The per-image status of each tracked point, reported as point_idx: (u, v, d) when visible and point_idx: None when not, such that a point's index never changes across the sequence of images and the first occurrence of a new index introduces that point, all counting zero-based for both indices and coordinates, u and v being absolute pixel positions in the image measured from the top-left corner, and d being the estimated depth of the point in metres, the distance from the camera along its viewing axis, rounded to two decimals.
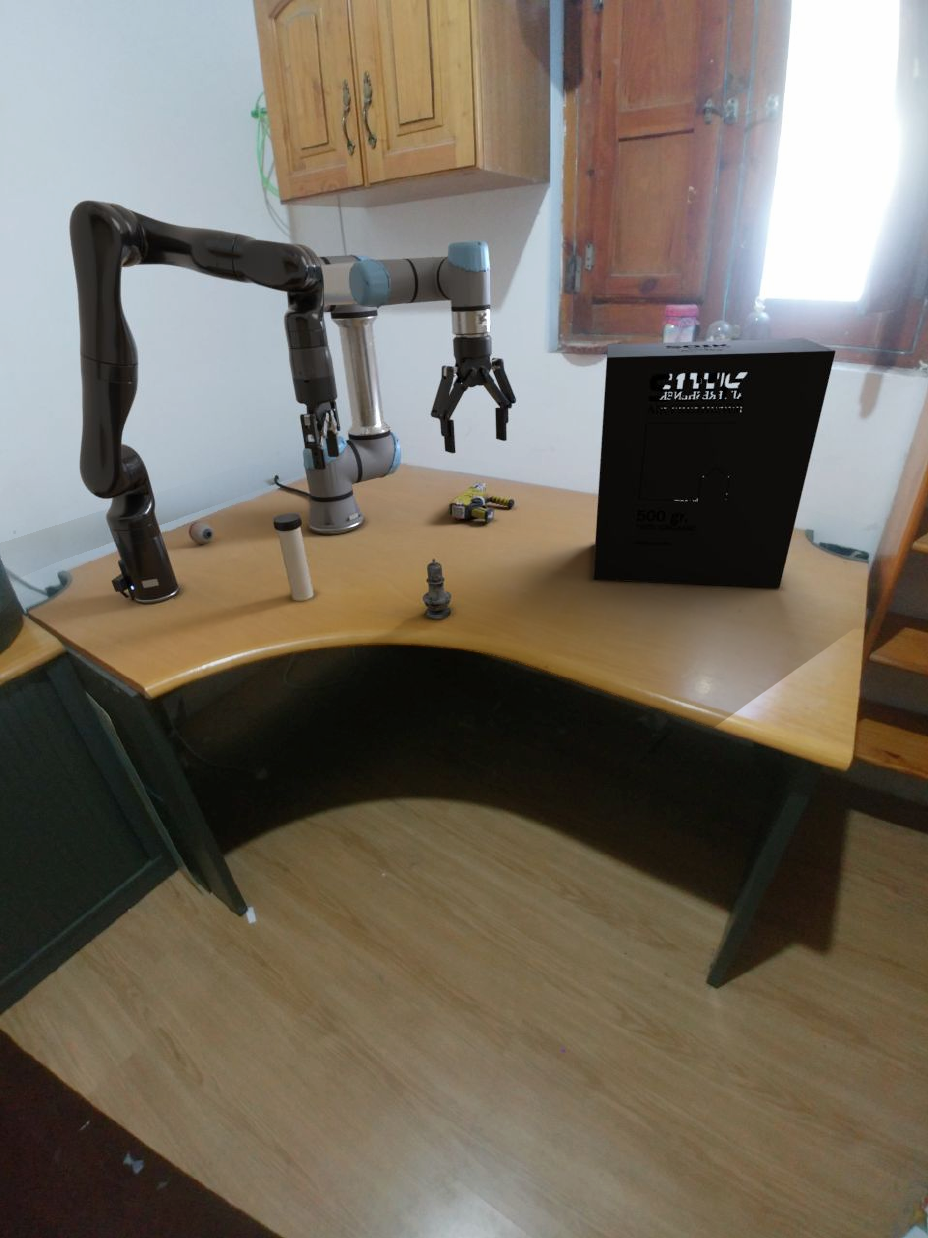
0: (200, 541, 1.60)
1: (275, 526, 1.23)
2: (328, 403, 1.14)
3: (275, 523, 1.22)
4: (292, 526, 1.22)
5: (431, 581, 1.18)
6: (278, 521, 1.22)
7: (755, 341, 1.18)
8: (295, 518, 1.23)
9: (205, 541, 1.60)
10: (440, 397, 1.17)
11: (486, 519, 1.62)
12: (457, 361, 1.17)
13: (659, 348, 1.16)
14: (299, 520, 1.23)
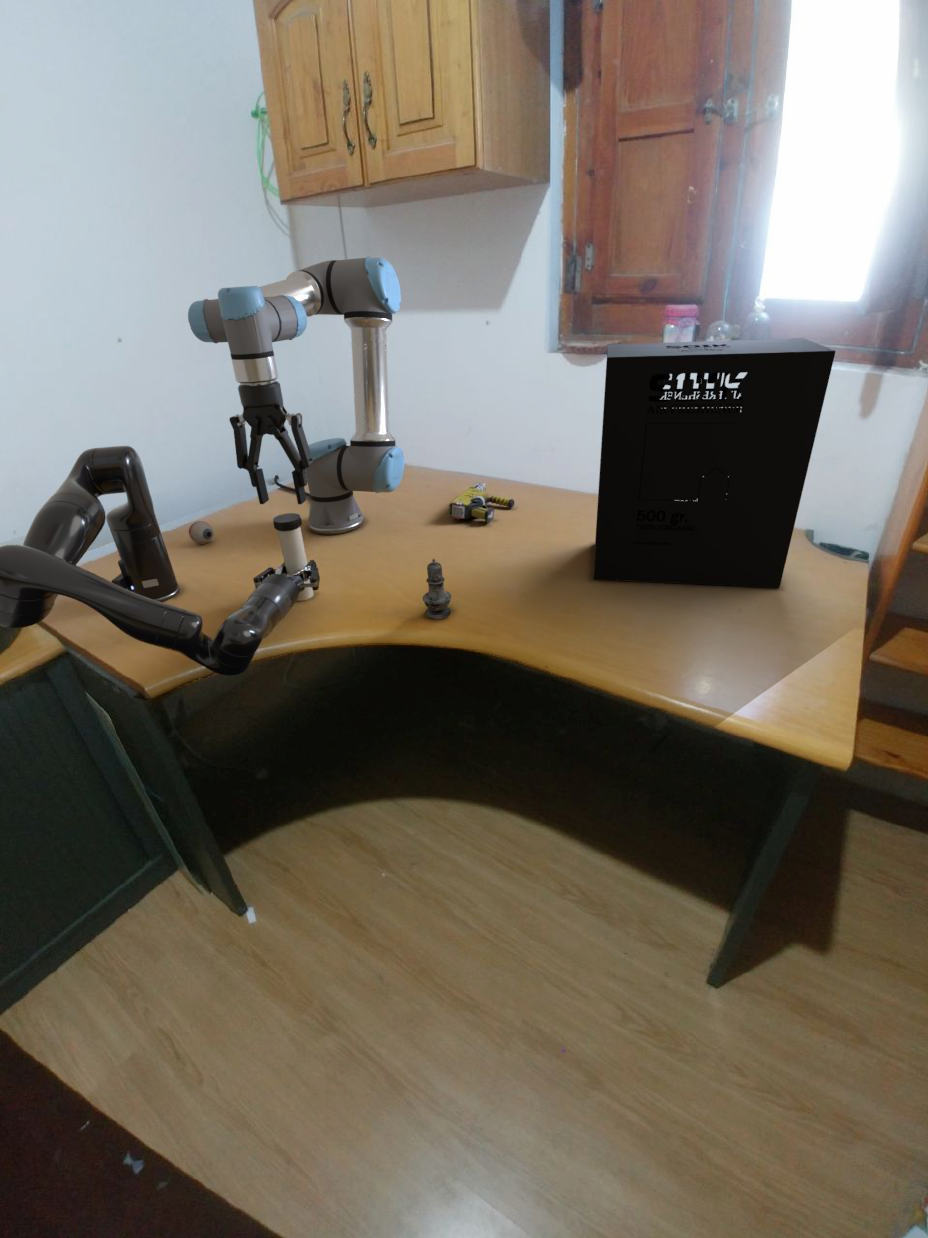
0: (200, 541, 1.60)
1: (275, 526, 1.23)
2: None
3: (275, 523, 1.22)
4: (292, 526, 1.22)
5: (431, 581, 1.18)
6: (278, 521, 1.22)
7: (755, 341, 1.18)
8: (295, 518, 1.23)
9: (205, 541, 1.60)
10: (306, 446, 1.16)
11: (486, 519, 1.62)
12: (282, 406, 1.12)
13: (659, 348, 1.16)
14: (299, 520, 1.23)
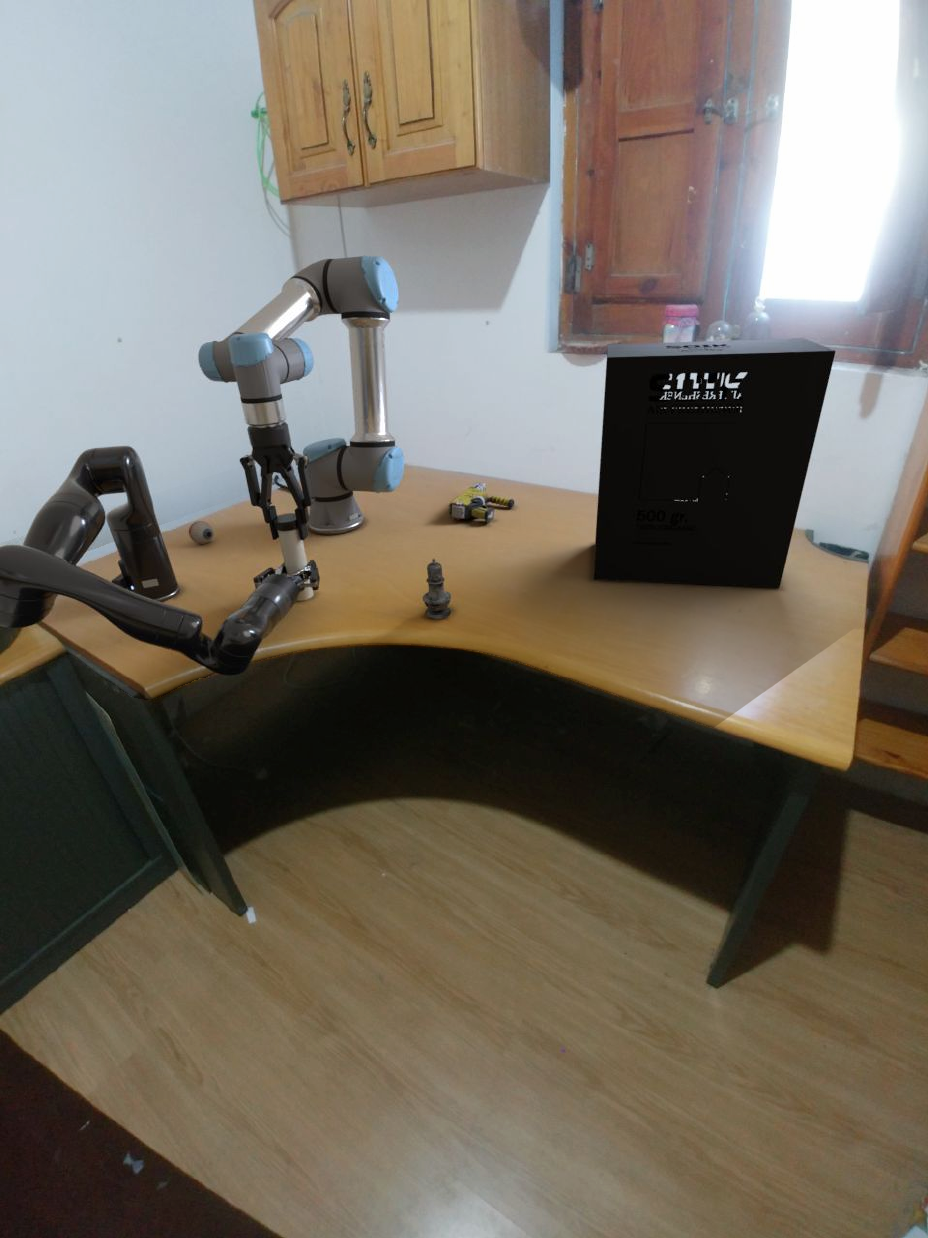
0: (200, 541, 1.60)
1: (275, 526, 1.23)
2: None
3: (275, 523, 1.22)
4: (292, 526, 1.22)
5: (431, 581, 1.18)
6: (278, 521, 1.22)
7: (755, 341, 1.18)
8: (295, 518, 1.23)
9: (205, 541, 1.60)
10: (310, 485, 1.20)
11: (486, 519, 1.62)
12: (290, 446, 1.16)
13: (659, 348, 1.16)
14: None
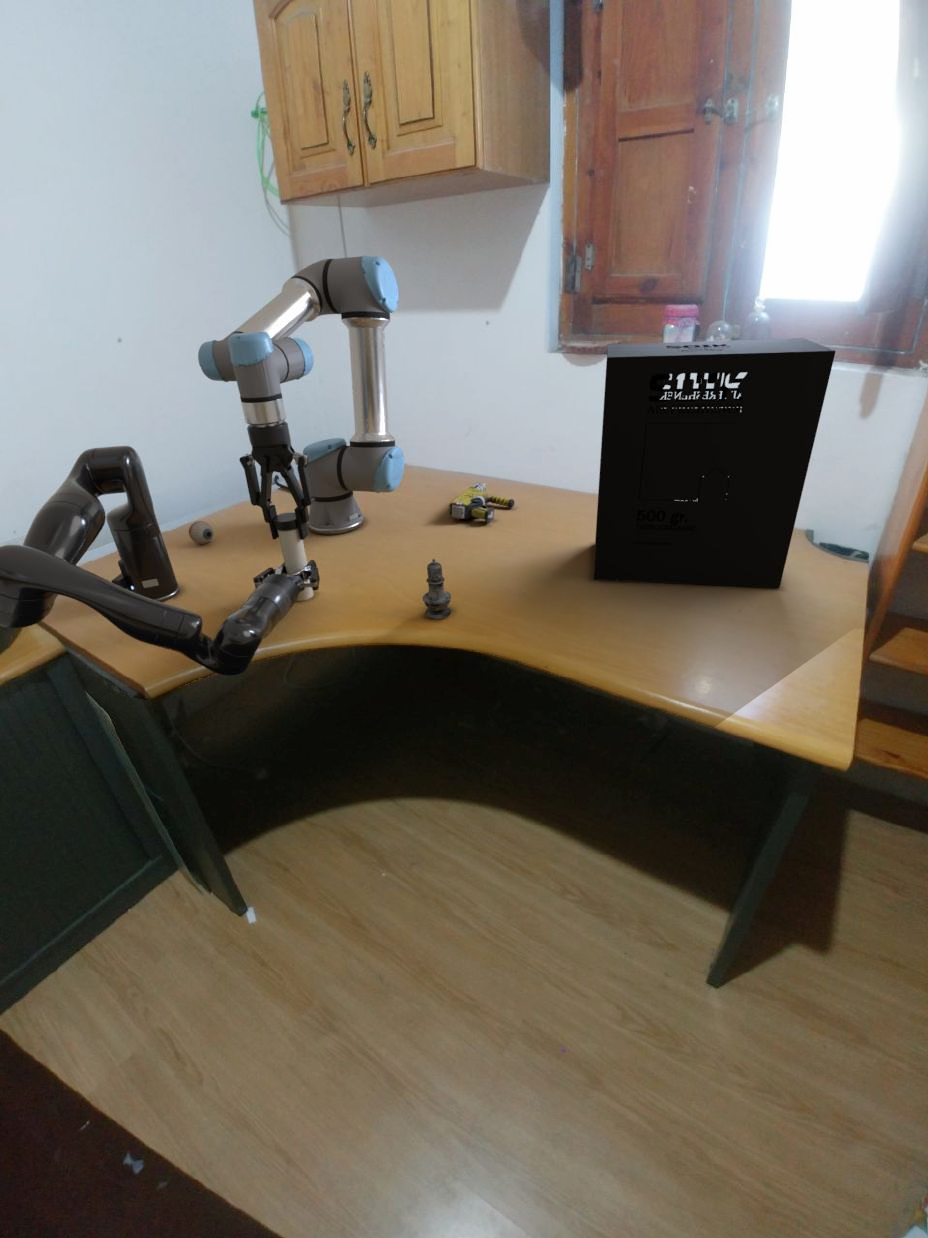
0: (200, 541, 1.60)
1: (287, 526, 1.22)
2: None
3: (288, 523, 1.22)
4: None
5: (431, 581, 1.18)
6: (290, 520, 1.22)
7: (755, 341, 1.18)
8: None
9: (205, 541, 1.60)
10: (310, 484, 1.20)
11: (486, 519, 1.62)
12: (289, 445, 1.16)
13: (659, 348, 1.16)
14: None
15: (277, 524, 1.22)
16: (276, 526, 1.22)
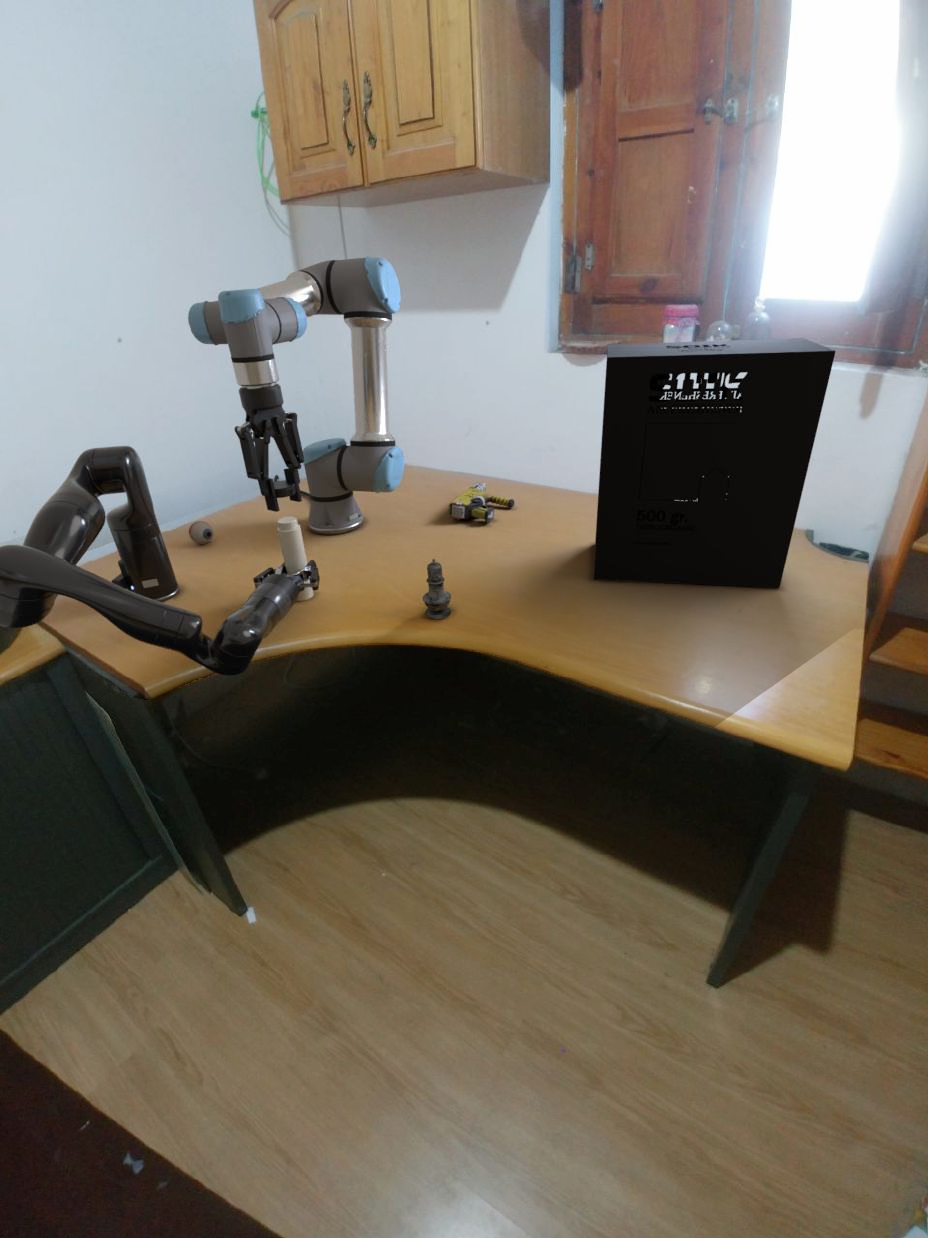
0: (200, 541, 1.60)
1: (294, 490, 1.21)
2: None
3: (294, 485, 1.20)
4: None
5: (431, 581, 1.18)
6: (292, 483, 1.21)
7: (755, 341, 1.18)
8: (279, 481, 1.22)
9: (205, 541, 1.60)
10: None
11: (486, 519, 1.62)
12: None
13: (659, 348, 1.16)
14: None
15: (286, 490, 1.19)
16: (284, 493, 1.19)
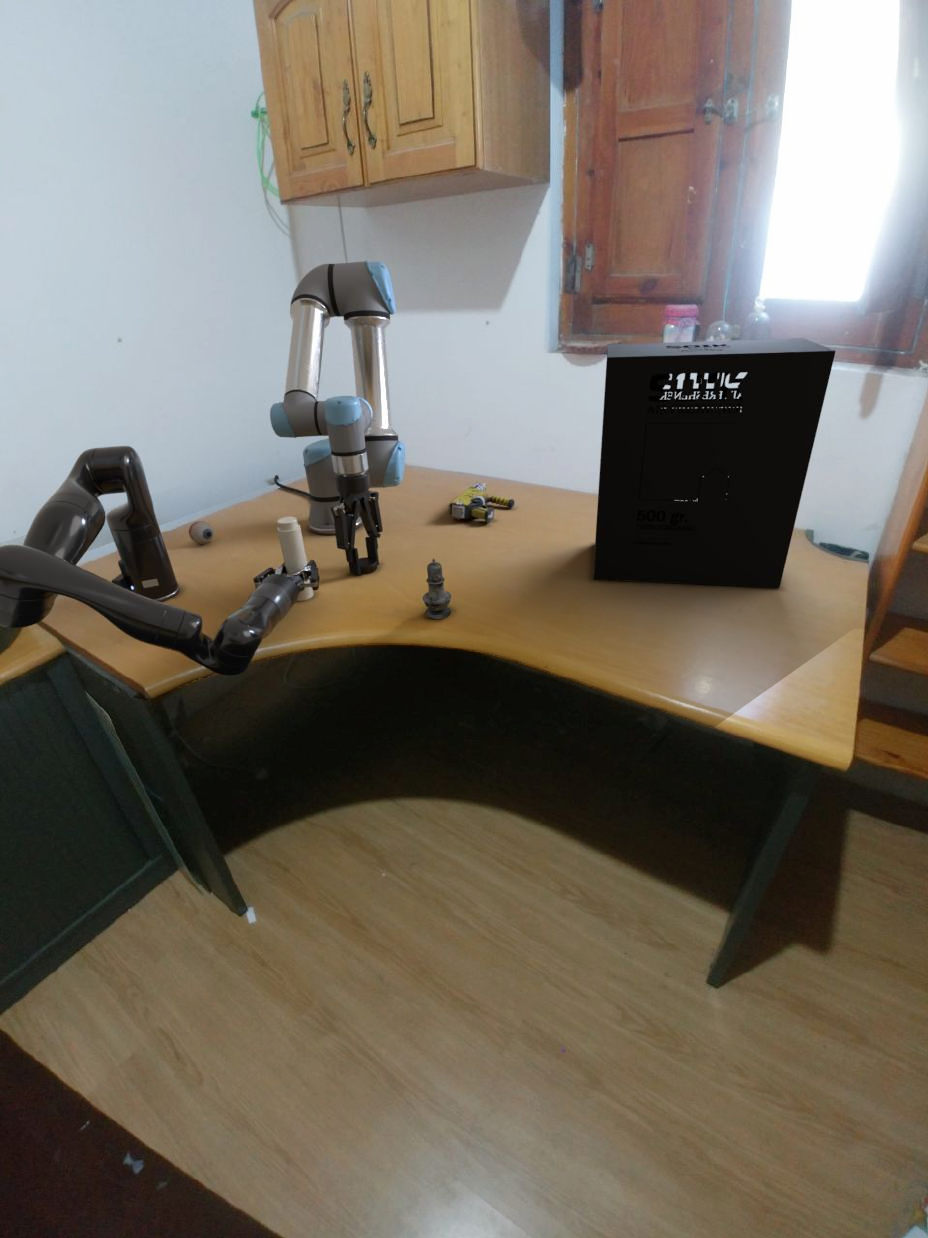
0: (200, 541, 1.60)
1: (376, 566, 1.42)
2: None
3: (376, 563, 1.42)
4: None
5: (431, 581, 1.18)
6: (374, 560, 1.43)
7: (755, 341, 1.18)
8: (362, 558, 1.44)
9: (205, 541, 1.60)
10: None
11: (486, 519, 1.62)
12: None
13: (659, 348, 1.16)
14: None
15: (370, 568, 1.41)
16: (368, 570, 1.41)
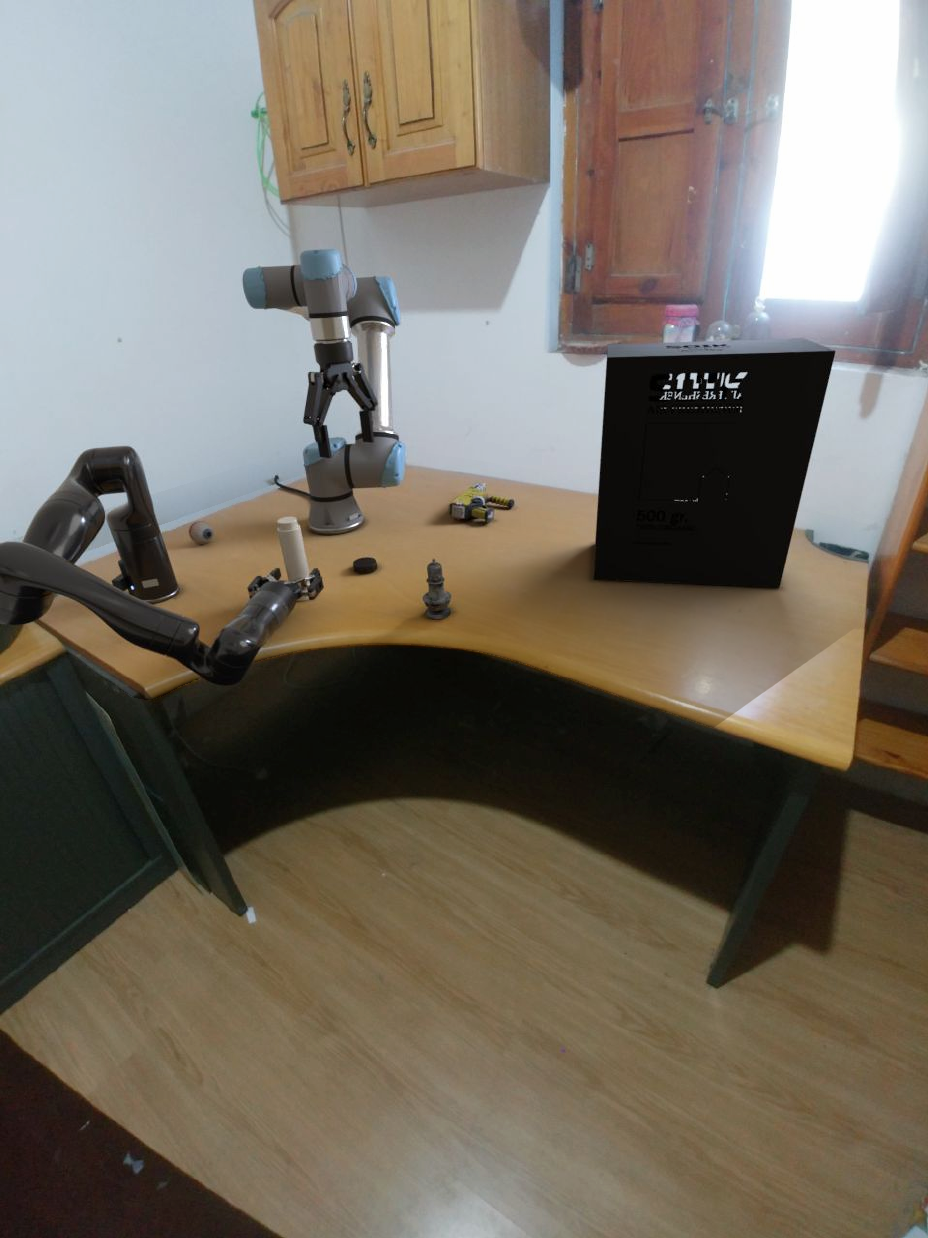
0: (200, 541, 1.60)
1: (376, 566, 1.42)
2: None
3: (376, 563, 1.42)
4: None
5: (431, 581, 1.18)
6: (374, 560, 1.43)
7: (755, 341, 1.18)
8: (362, 558, 1.44)
9: (205, 541, 1.60)
10: None
11: (486, 519, 1.62)
12: None
13: (659, 348, 1.16)
14: None
15: (370, 568, 1.41)
16: (368, 570, 1.41)
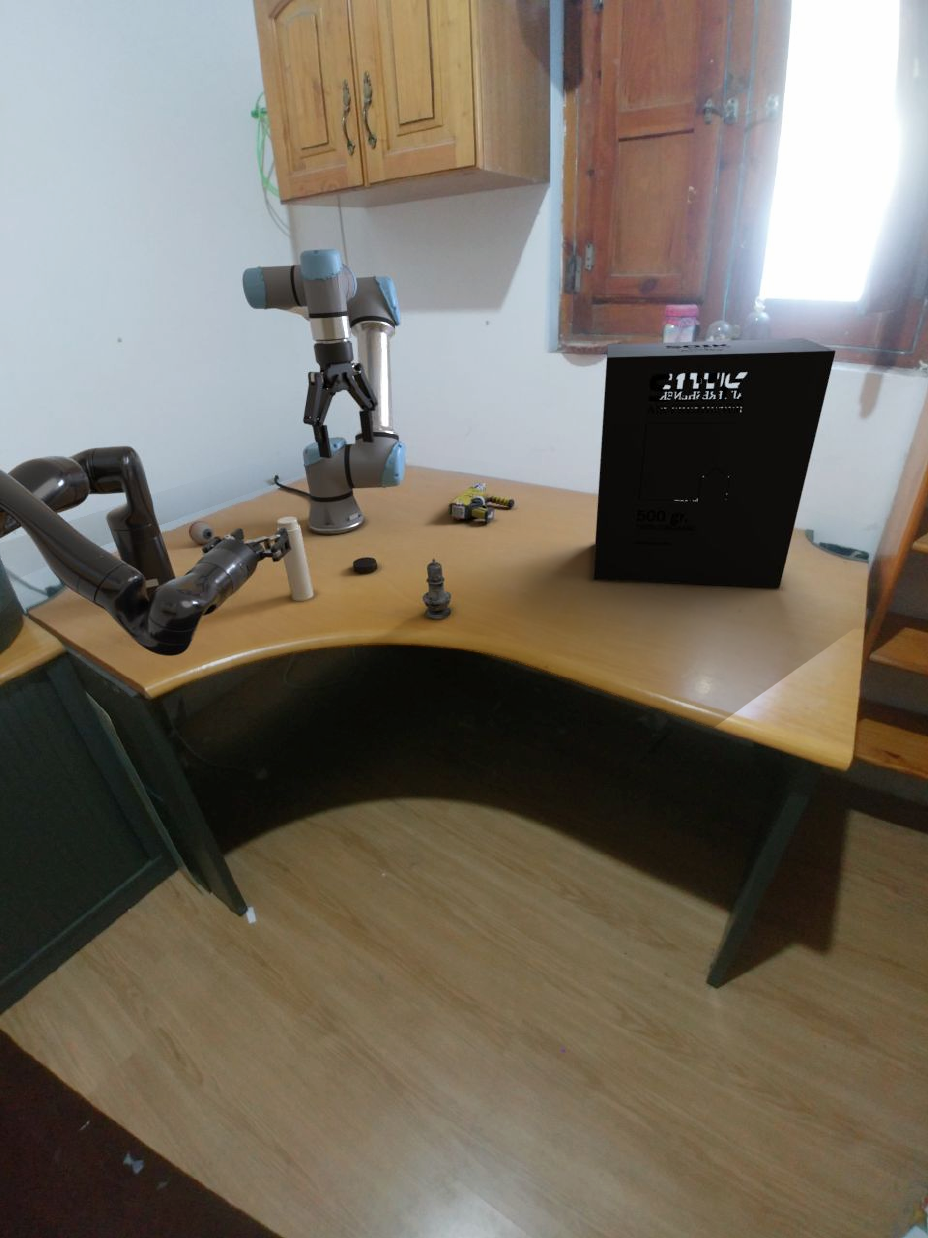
0: (200, 541, 1.60)
1: (376, 566, 1.42)
2: None
3: (376, 563, 1.42)
4: None
5: (431, 581, 1.18)
6: (374, 560, 1.43)
7: (755, 341, 1.18)
8: (362, 558, 1.44)
9: (205, 541, 1.60)
10: None
11: (486, 519, 1.62)
12: None
13: (659, 348, 1.16)
14: None
15: (370, 568, 1.41)
16: (368, 570, 1.41)
